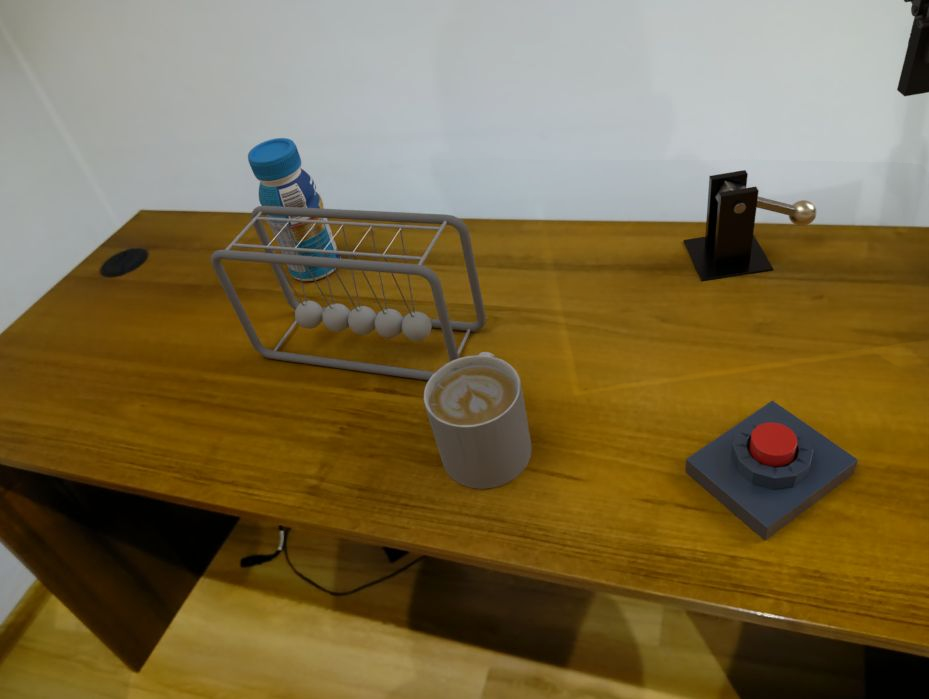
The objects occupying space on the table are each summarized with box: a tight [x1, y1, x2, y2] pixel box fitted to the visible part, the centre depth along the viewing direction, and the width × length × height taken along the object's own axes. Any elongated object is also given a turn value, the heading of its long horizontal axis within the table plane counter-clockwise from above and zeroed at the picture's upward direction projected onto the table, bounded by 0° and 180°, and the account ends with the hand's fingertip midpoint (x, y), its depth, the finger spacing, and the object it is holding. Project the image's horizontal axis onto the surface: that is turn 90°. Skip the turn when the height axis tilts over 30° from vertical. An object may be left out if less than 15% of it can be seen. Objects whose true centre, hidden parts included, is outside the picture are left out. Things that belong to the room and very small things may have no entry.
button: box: [750, 423, 797, 467], centre depth 68 cm, size 4×4×2 cm
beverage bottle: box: [247, 137, 342, 282], centre depth 104 cm, size 8×8×20 cm
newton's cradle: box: [210, 205, 487, 382], centre depth 89 cm, size 30×10×18 cm, turn 71°
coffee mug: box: [423, 351, 533, 490], centre depth 76 cm, size 13×10×10 cm
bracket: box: [683, 169, 774, 282], centre depth 91 cm, size 9×9×12 cm
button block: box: [684, 400, 859, 542], centre depth 69 cm, size 12×10×4 cm
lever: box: [715, 181, 818, 227], centre depth 89 cm, size 13×3×3 cm, turn 92°
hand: (915, 90), depth 67 cm, fingers closed
